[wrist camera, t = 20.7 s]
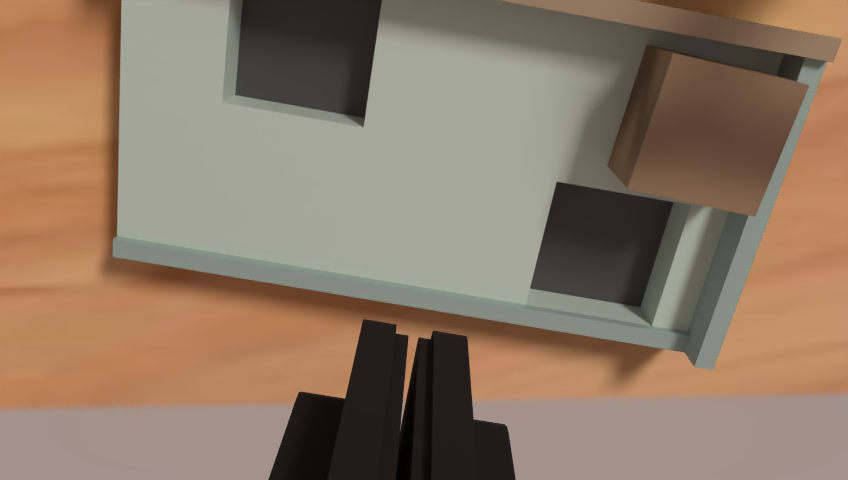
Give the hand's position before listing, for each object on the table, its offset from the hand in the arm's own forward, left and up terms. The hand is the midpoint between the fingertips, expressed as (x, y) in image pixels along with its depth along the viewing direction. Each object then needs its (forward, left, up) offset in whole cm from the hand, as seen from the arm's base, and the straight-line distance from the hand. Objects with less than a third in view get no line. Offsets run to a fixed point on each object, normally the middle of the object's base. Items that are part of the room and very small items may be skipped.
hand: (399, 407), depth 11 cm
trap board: (+1, +1, -27) cm, 27 cm away
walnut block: (-2, +12, -25) cm, 28 cm away
